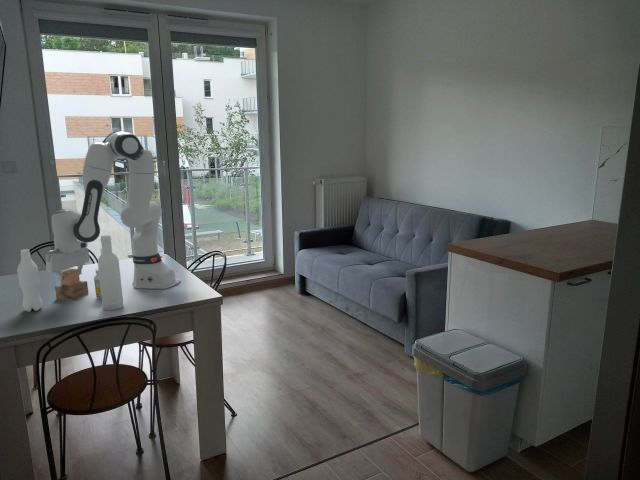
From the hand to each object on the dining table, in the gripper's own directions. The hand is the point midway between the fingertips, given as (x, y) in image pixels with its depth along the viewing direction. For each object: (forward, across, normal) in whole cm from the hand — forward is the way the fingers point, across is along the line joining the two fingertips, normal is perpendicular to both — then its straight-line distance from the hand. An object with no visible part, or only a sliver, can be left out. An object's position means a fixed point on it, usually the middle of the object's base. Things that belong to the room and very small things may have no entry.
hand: (70, 277), depth 210 cm
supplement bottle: (+9, +3, -15) cm, 18 cm away
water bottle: (+9, -18, +2) cm, 20 cm away
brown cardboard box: (+3, 0, 0) cm, 3 cm away
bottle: (+9, -6, -28) cm, 30 cm away
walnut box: (+9, 0, 0) cm, 9 cm away
